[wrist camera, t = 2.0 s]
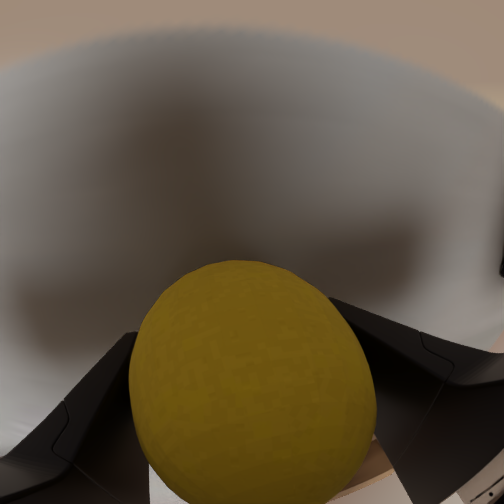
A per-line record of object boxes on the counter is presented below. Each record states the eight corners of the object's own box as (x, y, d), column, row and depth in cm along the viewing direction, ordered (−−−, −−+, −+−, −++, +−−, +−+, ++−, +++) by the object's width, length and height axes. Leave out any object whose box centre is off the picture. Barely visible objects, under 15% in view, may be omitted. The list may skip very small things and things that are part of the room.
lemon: (113, 291, 9) (57, 526, 2) (240, 188, 9) (444, 381, 2) (212, 376, 11) (254, 557, 4) (321, 302, 11) (448, 465, 4)
